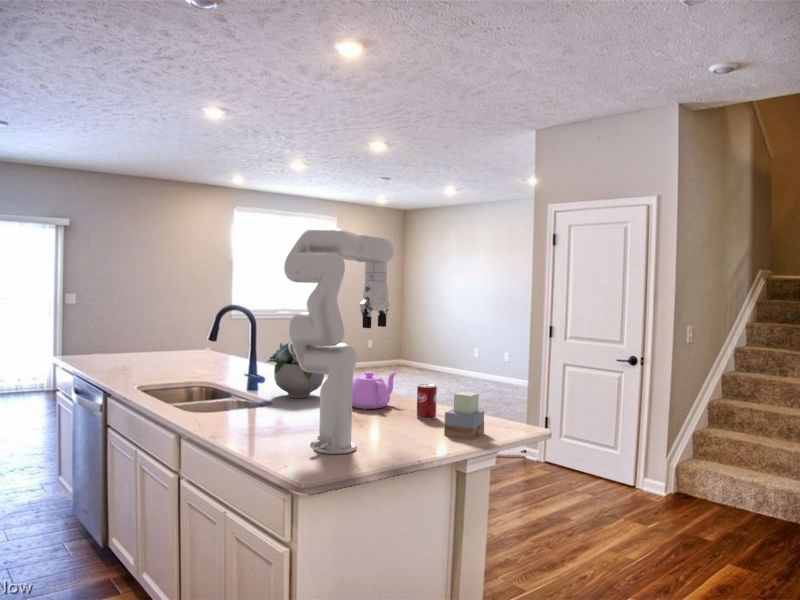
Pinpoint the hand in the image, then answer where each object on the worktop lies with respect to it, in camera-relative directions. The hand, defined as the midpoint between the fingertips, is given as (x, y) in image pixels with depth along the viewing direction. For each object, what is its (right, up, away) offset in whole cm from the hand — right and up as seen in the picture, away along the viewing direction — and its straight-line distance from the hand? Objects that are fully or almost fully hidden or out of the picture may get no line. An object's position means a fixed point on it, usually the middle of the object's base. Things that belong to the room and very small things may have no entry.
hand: (374, 327), depth 201 cm
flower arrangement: (-34, -32, +48) cm, 67 cm away
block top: (+30, -32, -8) cm, 45 cm away
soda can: (+19, -35, +15) cm, 42 cm away
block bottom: (+30, -36, -7) cm, 47 cm away
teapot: (-2, -34, +34) cm, 48 cm away
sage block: (+31, -28, -8) cm, 42 cm away
